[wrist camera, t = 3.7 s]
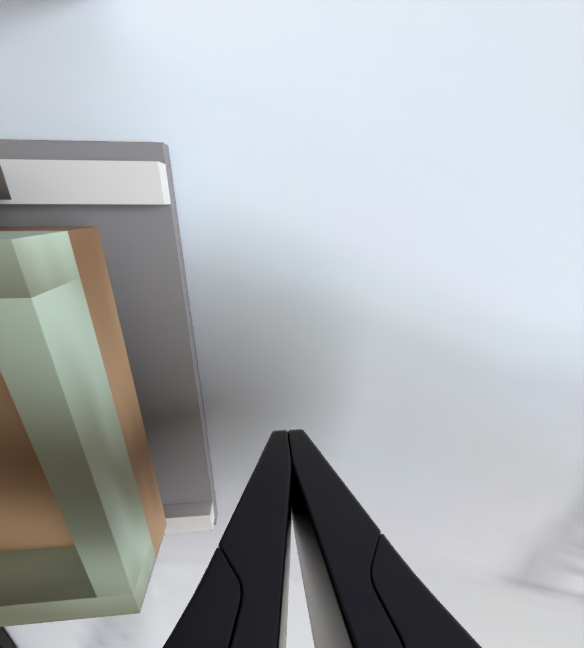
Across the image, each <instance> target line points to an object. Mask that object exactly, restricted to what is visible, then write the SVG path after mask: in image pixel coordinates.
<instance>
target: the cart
mask: <svg viewBox="0 0 584 648" xmlns="http://www.w3.org/2000/svg"><path fill="white" fill-rule="evenodd" d="M0 200H12V199H11V196H10V193H9V190H8V187H7V184H6V181H5V178H4V174H3V171H2V168H1V165H0ZM166 525H167V523H166V519H165V514H164V510H163V506H162V501H161V497H160V493H159V489H158V484H157V480H156V476H155V472H154V467H153V463H152V459H151V454H150V450H149V446H148V442H147V437H146V433H145V429H144V424H143V420H142V416H141V412H140V407H139V403H138V399H137V394H136V390H135V386H134V382H133V377H132V373H131V369H130V365H129V360H128V356H127V352H126V347H125V343H124V339H123V335H122V330H121V326H120V322H119V317H118V313H117V309H116V305H115V300H114V296H113V292H112V287H111V283H110V279H109V275H108V270H107V266H106V262H105V257H104V253H103V249H102V245H101V240H100V236H99V232H98V228H97V226H27V227H0V627H3V626H13V625H23V624H34V623H44V622H54V621H64V620H74V619H84V618H95V617H105V616H115V615H125V614H135V613H140V610H141V607H142V604H143V601H144V597H145V594H146V591H147V587H148V584H149V581H150V578H151V574H152V571H153V568H154V565H155V561H156V558H157V555H158V551H159V548H160V545H161V542H162V538H163V535H164V532H165V529H166Z"/></svg>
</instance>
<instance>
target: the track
mask: <svg viewBox="0 0 584 648" xmlns="http://www.w3.org/2000/svg"><path fill="white" fill-rule="evenodd" d="M0 165H1V168H2V171H3V174H4V178H5V181H6V184H7V187H8V190H9V193H10V196H11V199H12V200H0V227H27V226H97V228H98V232H99V236H100V240H101V245H102V249H103V253H104V257H105V262H106V266H107V270H108V275H109V279H110V283H111V287H112V292H113V296H114V300H115V305H116V309H117V313H118V317H119V322H120V326H121V330H122V335H123V339H124V343H125V347H126V352H127V356H128V360H129V365H130V369H131V373H132V377H133V382H134V386H135V390H136V394H137V399H138V403H139V407H140V412H141V416H142V420H143V424H144V429H145V433H146V437H147V442H148V446H149V450H150V454H151V459H152V463H153V467H154V472H155V476H156V480H157V484H158V489H159V493H160V497H161V501H162V506H163V510H164V514H165V519H166V523H167V525H166V529H165V532H164V535H167V534H180V533H192V532H205V531H213V525H216V520H217V507H216V500H215V492H214V485H213V477H212V470H211V462H210V455H209V448H208V440H207V433H206V425H205V418H204V410H203V403H202V395H201V388H200V380H199V373H198V365H197V358H196V351H195V343H194V336H193V328H192V321H191V313H190V306H189V298H188V291H187V283H186V276H185V269H184V261H183V254H182V246H181V239H180V231H179V224H178V216H177V209H176V201H175V194H174V186H173V179H172V172H171V164H170V157H169V149H168V146H167V145H166V144H164V143H158V142H105V141H53V140H0Z"/></svg>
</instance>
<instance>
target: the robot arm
mask: <svg viewBox="0 0 584 648" xmlns="http://www.w3.org/2000/svg"><path fill="white" fill-rule="evenodd" d="M291 512H292V521H293V528H294V534H295V539H296V545H297V550H298V556H299V562H300V567H301V573H302V578H303V584H304V590H305V595H306V601H307V606H308V612H309V618H310V623H311V629H312V634H313V640H314V645H315V648H482V647H481V646H480V645H479V644H478V643H477V642H476V641H475V640H474V639H473V638H472V637H471V635H470V634H469V633H468V632H467V631H466V630H465V629H464V628H463V627H462V626H461V625H460V623H459V622H458V621H457V620H456V619H455V618H454V617H453V616H452V615H451V614H450V613H449V612H448V610H447V609H446V608H445V607H444V606H443V605H442V604H441V603H440V602H439V601H438V600H437V598H436V597H435V596H434V595H433V594H432V593H431V592H430V591H429V589H428V588H427V587H426V586H425V585H424V584H423V583H422V582H421V580H420V579H419V578H418V577H417V576H416V575H415V574H414V572H413V571H412V570H411V569H410V567H409V566H408V565H407V564H406V562H405V561H404V560H403V559H402V557H401V556H400V555H399V554H398V553H397V551H396V550H395V549H394V547H393V546H392V545H391V543H390V542H389V541H388V540H387V538H386V537H385V536H384V534H381V531H380V529H379V528H378V527H377V525H376V524H375V523H374V521H373V520H372V519H371V518H370V516H369V515H368V514H367V512H366V511H365V510H364V508H363V507H362V506H361V505H360V503H359V502H358V501H357V499H356V498H355V497H354V495H353V494H352V493H351V491H350V490H349V489H348V488H347V486H346V485H345V484H344V482H343V481H342V480H341V478H340V477H339V476H338V475H337V473H336V472H335V471H334V469H333V468H332V467H331V465H330V464H329V463H328V461H327V460H326V459H325V458H324V456H323V455H322V454H321V452H320V451H319V450H318V448H317V447H316V446H315V445H314V443H313V442H312V441H311V439H310V438H309V437H308V435H307V434H306V433H305V432H304V430H302V429H297V430H289V431H288V432H287V431H286V430H279V431H273V432H272V434H271V436H270V438H269V440H268V442H267V444H266V446H265V448H264V450H263V452H262V454H261V457H260V459H259V461H258V463H257V465H256V467H255V469H254V471H253V473H252V475H251V478H250V480H249V482H248V484H247V486H246V488H245V490H244V492H243V494H242V496H241V499H240V501H239V503H238V505H237V507H236V509H235V511H234V513H233V515H232V517H231V520H230V522H229V524H228V526H227V528H226V530H225V532H224V534H223V536H222V538H221V540H220V543H219V548H217V549H216V551H215V553H214V555H213V557H212V559H211V561H210V563H209V565H208V567H207V569H206V571H205V573H204V575H203V577H202V579H201V581H200V583H199V585H198V587H197V589H196V591H195V593H194V595H193V597H192V598H191V600H190V602H189V604H188V605H187V607H186V609H185V610H184V612H183V614H182V616H181V617H180V619H179V621H178V623H177V624H176V626H175V628H174V630H173V631H172V633H171V635H170V636H169V638H168V640H167V641H166V643H165V645H164V646H163V648H286V635H287V612H288V590H289V568H290V546H291ZM0 648H15V646H14V645H13V643H12V642H11V640H10V639H9V638H8V636H7V635H6V633H5V632H4V630H3V629H2V627H0Z"/></svg>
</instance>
